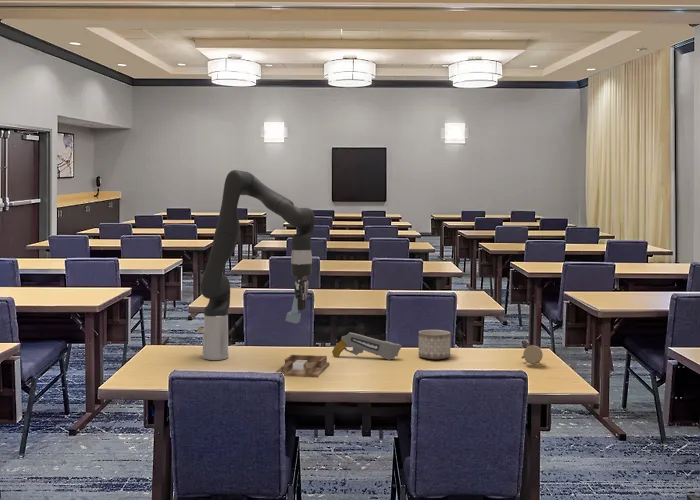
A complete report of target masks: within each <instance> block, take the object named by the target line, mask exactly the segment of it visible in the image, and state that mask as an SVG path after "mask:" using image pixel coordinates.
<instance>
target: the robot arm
mask: <svg viewBox="0 0 700 500" xmlns="http://www.w3.org/2000/svg"><path fill="white" fill-rule="evenodd" d="M223 185H224V187H223V193H222V201H221V206H220V211H219V215H218V219H217V224H216V228H215V231H214V235H213V240H212V244H211V248H210V251H209V252H210V253H209V257H208V260H207V263H206V267H205V268H204V272H203V275H202V278H201V281H200V286H199V287H200V288H199V290H200V293H201V295H202V297H204V298H206V299H208V300H209V301H208V303H207V305H206V306H205V307H204V310H203V317H204V318H203V322H204V325H203V326H204V327H203V328H204V333H203V334H202V359H205V360H210V361H219V360H226V359H228V358H229V308H230V306H231V283H230V280H229V278H228V276H226V275H225V274H224V270H225V267H226V264H227V262H229V259H230V258H231V256H232V255H233V253H234V251H235V249H236V247H237V244H238V240H239V237H240V232H241V227H240V226H241V225H240V219H239V215H238V204H239V200H240V196H248V197H251V198H254V199H256V200H258V201H260V202H261V203H262V204H263V205H264V207H266V209H268V210H269V211H271V212H272V213H274V214H276V215H278V216H279V217H281V218H282V220H284V221H285V222H286V223H287V224H289V226H292V227H294V228H298V229H297V233H295V234H293V235H292V237H291V256H290V257H291V262H290V265H291V267H290V268H291V269H290V273H291V274H290V275H291V276H294V277H296V280H295V281H294V285H293V289H294V296H295V297H296V299H297V300H298V310H299V311H303V310H305V309H307V305H306V303H307V302H306V299H307V297H308V296H309V295H308V294H309V286H310V282H309V280H308V277H310V276H312V274H313V256H312V255H313V254H312V237H313V233H314V229H315V224H316V217H315V213H314V211H313V209H310V208H309V207H298V206H296V205H295V204H294V202H293V201H292V200H291V199H289V198H287V197H285V195H282V194H280V193H278V192H277V191H275V190H273V189H271V188H269V187H268V186H267V185H266V184H264V183H263V182H262V181H261V180H260V179H258V178H257V177H256V176H255V175H254V174H252V173H251V172H249V171H245V170H240V169H239V170H238V169H233V170H230V171H229V173H227V175H226V178H225V181H224V184H223ZM302 290H303V291H302ZM299 294H300V295H299Z"/></svg>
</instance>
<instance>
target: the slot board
mask: <svg viewBox="0 0 700 500" xmlns="http://www.w3.org/2000/svg"><path fill="white" fill-rule="evenodd" d="M327 357H328V356H327V355H316V354H315V355H314V354H313V355H311V354H290V355H289V356H288V357H286V358H285V359H284V364H283V365H282V366H280V367H279V368H278V369H277V370H276V371H275V372H282V373H283V374H284V375H285V376H284V377H286V376H287V377H303V378H305V377H307V378H309V377H310V378H311V377H312V378H319V376H321V374H322V373H324V371H325V370H326V369H327V368H328V367H329V366H330V362H327V361H328V359H327ZM297 360H308V366H307V367H306V370H305V371H304V372H297V371H293V363H294V362H295V361H297Z"/></svg>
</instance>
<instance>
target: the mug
mask: <svg viewBox="0 0 700 500" xmlns="http://www.w3.org/2000/svg"><path fill="white" fill-rule="evenodd" d="M520 359H524V360H525V361H526V362H527V363H529V364H532V365H536V364H538V363H540V362H541V361H542V359H543V351H542V348H540V347H539V346H537V345H534V344H533V345H531V344H530V345H528V346H527V347H526V348H524V350H523V354H522V356H521V358H520Z"/></svg>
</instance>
